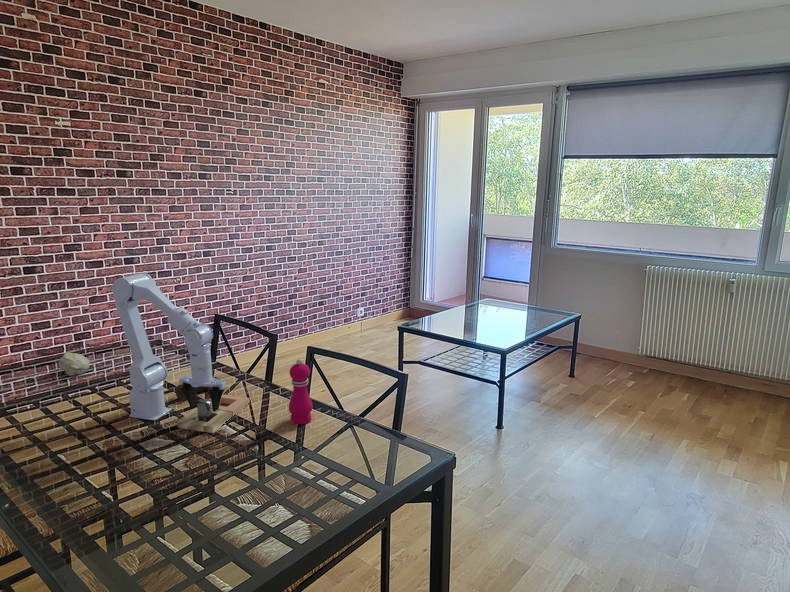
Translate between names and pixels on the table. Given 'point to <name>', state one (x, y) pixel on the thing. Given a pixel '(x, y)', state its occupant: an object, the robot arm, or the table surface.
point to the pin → (204, 410)
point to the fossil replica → (73, 363)
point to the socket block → (233, 403)
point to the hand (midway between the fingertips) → (204, 408)
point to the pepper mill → (300, 394)
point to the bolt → (182, 397)
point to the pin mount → (211, 426)
